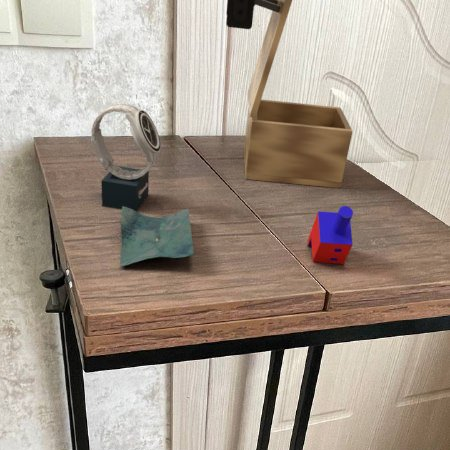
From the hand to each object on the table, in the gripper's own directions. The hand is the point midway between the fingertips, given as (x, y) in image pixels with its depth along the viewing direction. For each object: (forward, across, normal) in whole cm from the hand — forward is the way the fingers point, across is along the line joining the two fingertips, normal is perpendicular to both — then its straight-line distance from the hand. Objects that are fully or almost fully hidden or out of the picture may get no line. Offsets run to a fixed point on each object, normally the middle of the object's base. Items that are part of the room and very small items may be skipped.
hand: (238, 21), depth 81 cm
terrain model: (+18, -28, +8) cm, 35 cm away
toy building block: (+18, -28, -12) cm, 35 cm away
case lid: (+3, 0, -5) cm, 6 cm away
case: (+18, 0, -10) cm, 21 cm away
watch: (+18, -17, +12) cm, 28 cm away
